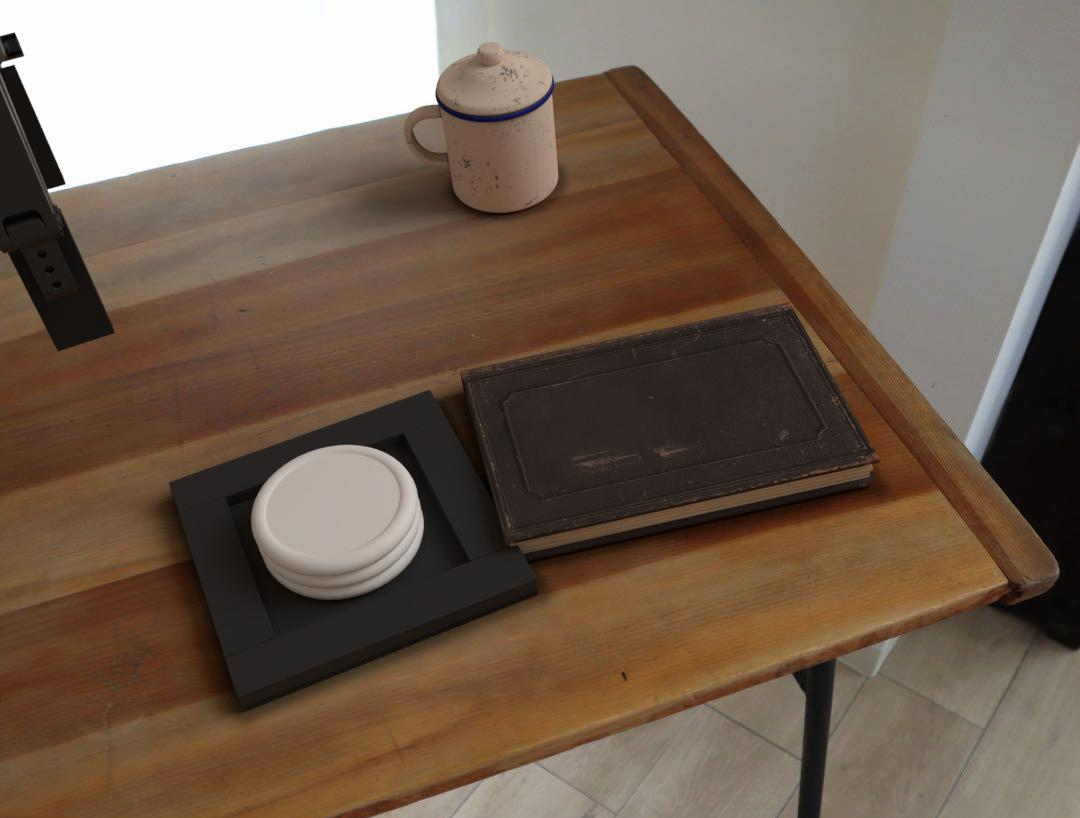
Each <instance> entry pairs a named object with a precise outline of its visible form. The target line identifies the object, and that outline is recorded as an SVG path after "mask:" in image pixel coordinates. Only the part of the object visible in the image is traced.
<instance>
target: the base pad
mask: <svg viewBox="0 0 1080 818" xmlns="http://www.w3.org/2000/svg"><path fill="white" fill-rule="evenodd" d="M337 445H358V446H365V447H370V448H373V449H377V450H380V451H382V452H384V453H387V454H388V455H390V456H392V457H393V458H395V459H396V460H397V461H398V462H400V463H401V464H402V465H403V466H404V467H405V469H406V470H407V471H408V472H409V474H410V475H411V477H412V479H413V481H414V483H415V486H416V489H417V494H418V498H419V501H420V506H421V510H422V514H423V519H424V530H423V536H422V540H421V543H420V546H419V549H418V551H417V553H416V555H415V556H414V558H413V559H412V561H411V562H410V563H409V565H408V566H407V567H406V568H405V569H404V570H403V571H402V572H401V573H400V574H399V575H398V576H396V577H395V578H394V579H392V580H391V581H390V582H388V583H387V584H385V585H383V586H382V587H380V588H378V589H376V590H374V591H371V592H369V593H366V594H363V595H360V596H356V597H352V598H347V599H340V600H322V599H314V598H310V597H306V596H303V595H300V594H297V593H295V592H293V591H291V590H289V589H288V588H286V587H285V586H283V585H282V584H281V583H280V582H279V581H278V580H277V579H276V578H275V577H274V576H272V574H271V573H270V571H269V570H268V569H267V567H266V564H265V562H264V560H263V557H262V555H261V553H260V550H259V547H258V545H257V543H256V541H255V538H254V536H253V532H252V524H251V516H252V508H253V505H254V501H255V499H256V497H257V495H258V493H259V491H260V489H261V488H262V486H263V485H264V484H265V482H266V481H267V480H268V479H269V478H270V477H271V476H272V475H273V474H274V473H275V472H276V471H277V470H278V469H280V468H281V467H282V466H284V465H285V464H287V463H288V462H290V461H291V460H293V459H295V458H297V457H299V456H301V455H303V454H306V453H308V452H311V451H314V450H317V449H321V448H325V447H330V446H337ZM168 485H169V488H170V491H171V495H172V498H173V501H174V504H175V508H176V511H177V514H178V516H179V517H178V518H179V520H180V523H181V526H182V529H183V532H184V536H185V539H186V542H187V545H188V548H189V552H190V555H191V558H192V561H193V564H194V567H195V571H196V573H197V577H198V580H199V583H200V586H201V589H202V592H203V595H204V598H205V602H206V605H207V608H208V611H209V614H210V617H211V620H212V624H213V627H214V630H215V633H216V636H217V639H218V642H219V647H220V648H221V652H222V655H223V657H224V658H223V659H224V661H225V664H226V668H227V670H228V673H229V676H230V681H231V683H232V687H233V689H234V692H235V696H236V698H237V700H238V702H239V704H240V707H241V708H242V711H244V712H247V711H250V710H252V709H255V708H256V707H259V706H262V705H264V704H267V703H270V702H272V701H275V700H277V699H279V698H282V697H285V696H287V695H289V694H292V693H294V692H296V691H299V690H302V689H304V688H307V687H310V686H312V685H314V684H317V683H320V682H322V681H324V680H327V679H329V678H332V677H334V676H336V675H339V674H342V673H345V672H347V671H349V670H352V669H354V668H356V667H359V666H361V665H364V664H367V663H369V662H372V661H374V660H377V659H379V658H382V657H384V656H388V655H389V654H391V653H394V652H397V651H399V650H402V649H404V648H407V647H409V646H412V645H414V644H417V643H419V642H421V641H424V640H427V639H429V638H432V637H434V636H437V635H439V634H441V633H444V632H446V631H449V630H451V629H454V628H456V627H459V626H462V625H465V624H467V623H469V622H471V621H474V620H476V619H479V618H481V617H484V616H486V615H487V616H488V615H489V614H491V613H494V612H497V611H500V610H502V609H504V608H507V607H510V606H512V605H514V604H517V603H520V602H522V601H524V600H527V599H530V598H531V597H534V596H536V595H539V593H540V592H539V587H538V578H537V577H536V574H535V572H533V570H532V568H531V566H530V564H529V561H527V560H526V559H525V557H524V555H523V553H522V552H521V550H520V548H519V546H518V545H515V546H510V544H509V545H506V544H505V540H504V536H503V533H502V529H501V525H500V521H499V517H498V514H497V510H496V506H495V504H494V502H493V500H492V498H491V494H490V492H489V490H488V489H487V488H486V486H485V484H484V482H483V480H482V479H481V476H480V475H479V474H478V472H477V470H476V468H475V467H474V465H473V462H472V460H471V459H470V458H469V456H468V454H467V452H466V451H465V449H464V447H463V445H462V443H461V441H460V440H459V438H458V436H457V435H456V433H455V430H453V427H452V425H451V424H450V422H449V420H448V419H447V417H446V415H445V413H444V412H443V410H442V408H441V406H440V405H439V403H438V401H437V400H436V398H435V396H434V394H433V392H432V391H431V389H428V390H427V389H426V390H425V391H422V392H419V393H416V394H413V395H410V396H408V397H405V398H402V399H398V400H396V401H394V402H391V403H387V404H385V405H381V406H380V407H376V408H374V409H371V410H369V411H366V412H362V413H360V414H357V415H354V416H352V417H349V418H346V419H343V420H340V421H338V422H335V423H332V424H329V425H326V426H323V427H320V428H318V429H315V430H312V431H309V432H307V433H303V434H301V435H298V436H295V437H292V438H290V439H287V440H284V441H282V442H281V441H280V442H278V443H275V444H273V445H270V446H268V447H264V448H261V449H259V450H255V451H253V452H251V453H247V454H245V455H242V456H241V455H240V456H239V457H236V458H233V459H230V460H228V461H225V462H221V463H219V464H217V465H214V466H211V467H208V468H206V469H202V470H199V471H197V472H194V473H191V474H188V475H185V476H182V477H180V478H176V479H174V480H171V481H169V482H168Z"/></svg>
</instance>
